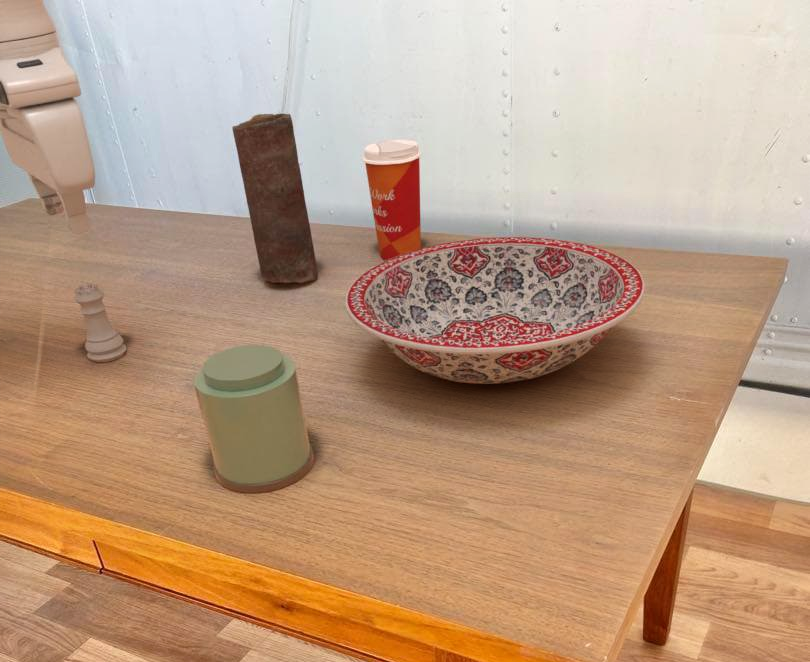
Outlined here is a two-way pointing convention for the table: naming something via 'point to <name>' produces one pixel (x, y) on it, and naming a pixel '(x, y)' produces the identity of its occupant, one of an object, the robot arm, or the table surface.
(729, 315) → the table surface
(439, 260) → the ceramic bowl
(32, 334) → the table surface
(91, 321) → the rook chess piece
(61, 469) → the table surface
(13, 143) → the robot arm
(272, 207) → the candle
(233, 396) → the upturned tumbler
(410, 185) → the paper cup
